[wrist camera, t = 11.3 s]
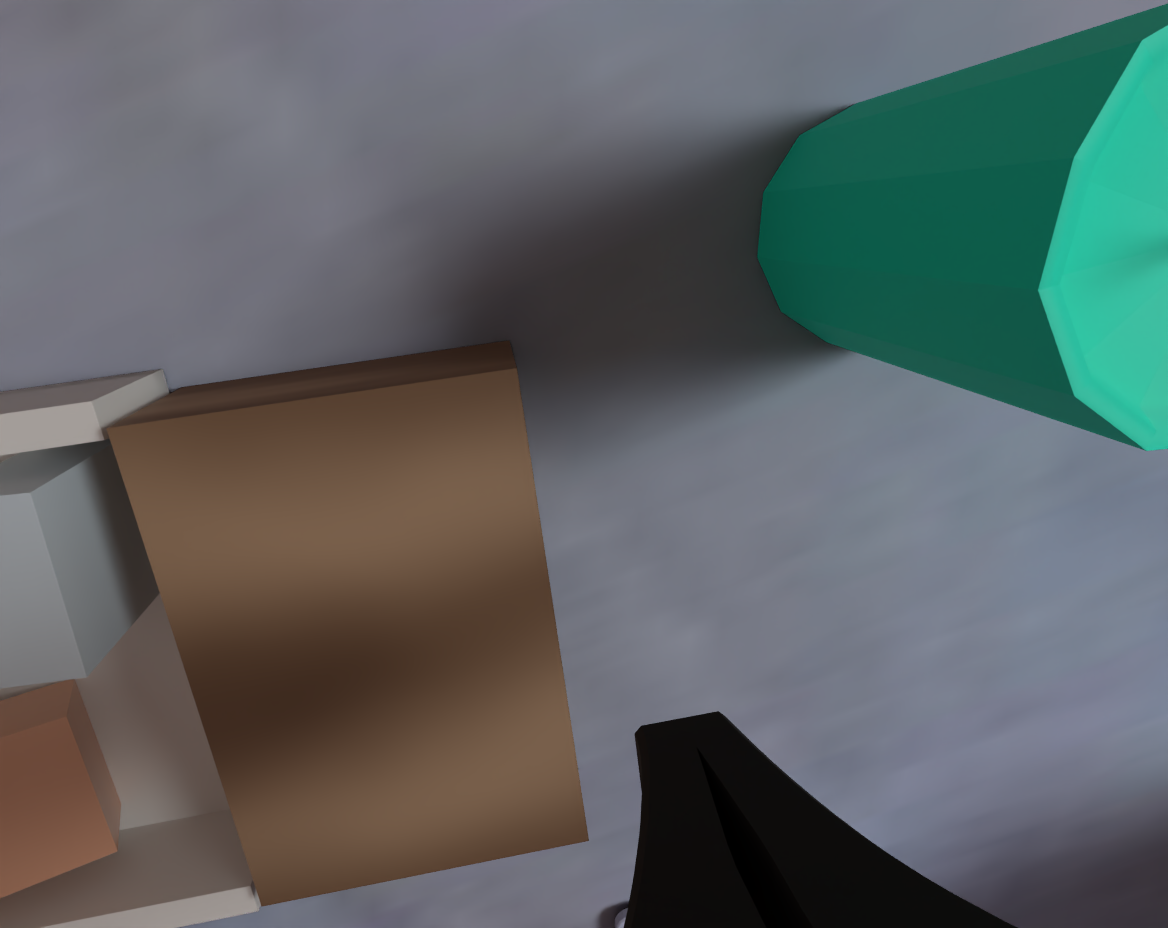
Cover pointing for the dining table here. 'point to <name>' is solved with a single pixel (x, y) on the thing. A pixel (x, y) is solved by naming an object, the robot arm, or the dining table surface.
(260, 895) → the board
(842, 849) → the robot arm
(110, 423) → the tray
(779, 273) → the candle
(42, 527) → the grey rectangular prism
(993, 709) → the dining table surface
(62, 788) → the tile terracotta
